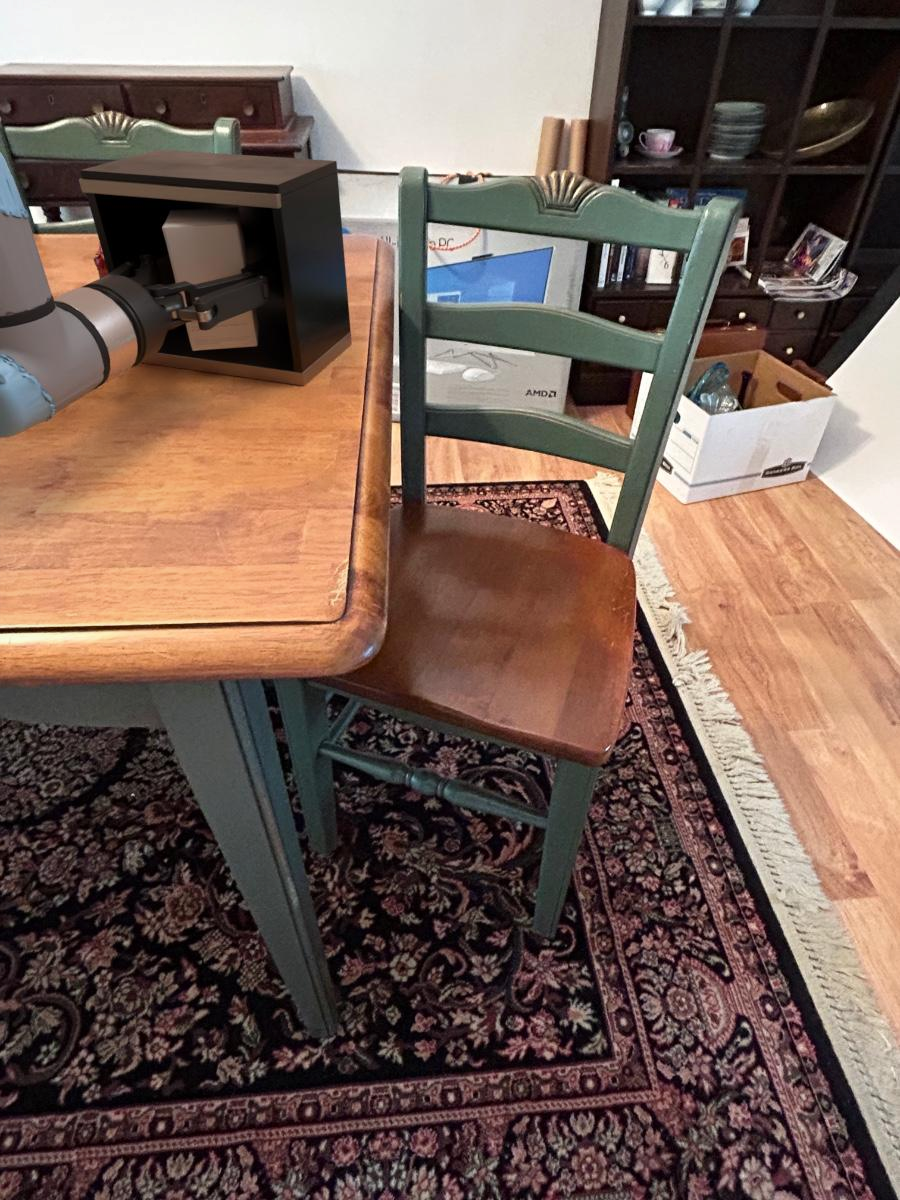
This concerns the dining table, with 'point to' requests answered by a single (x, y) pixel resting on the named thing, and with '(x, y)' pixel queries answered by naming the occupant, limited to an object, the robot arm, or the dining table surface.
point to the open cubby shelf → (270, 225)
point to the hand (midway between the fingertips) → (235, 261)
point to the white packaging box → (210, 268)
